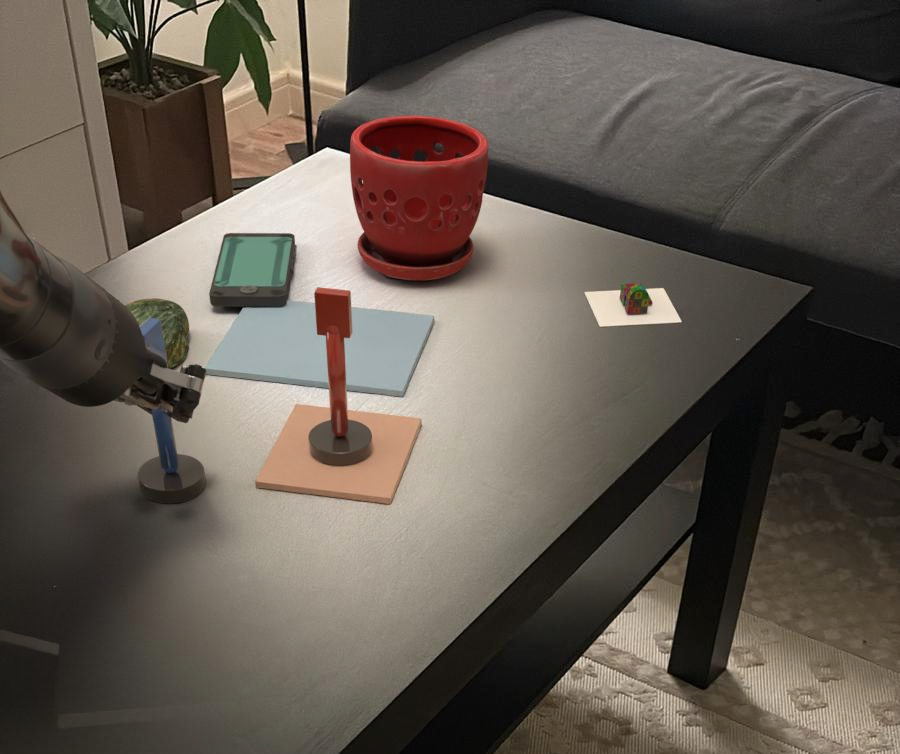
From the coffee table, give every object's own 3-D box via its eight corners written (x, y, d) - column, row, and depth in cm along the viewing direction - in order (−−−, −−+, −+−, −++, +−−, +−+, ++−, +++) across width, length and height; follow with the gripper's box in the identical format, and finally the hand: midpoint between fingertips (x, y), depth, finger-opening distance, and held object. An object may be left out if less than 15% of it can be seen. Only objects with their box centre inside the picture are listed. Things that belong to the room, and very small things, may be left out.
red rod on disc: (301, 462, 103) (288, 303, 94) (318, 428, 107) (307, 271, 97) (364, 469, 103) (358, 310, 93) (379, 435, 106) (374, 278, 96)
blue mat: (204, 374, 114) (204, 368, 113) (250, 301, 123) (250, 295, 123) (402, 397, 112) (402, 390, 111) (434, 321, 121) (434, 315, 120)
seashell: (59, 297, 114) (162, 270, 118) (67, 339, 117) (167, 311, 121) (107, 353, 109) (213, 323, 113) (114, 395, 112) (216, 364, 116)
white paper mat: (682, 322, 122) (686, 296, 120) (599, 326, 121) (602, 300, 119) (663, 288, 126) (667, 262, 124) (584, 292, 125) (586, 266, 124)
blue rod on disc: (187, 509, 100) (162, 349, 90) (128, 495, 101) (96, 336, 91) (217, 474, 103) (195, 316, 93) (159, 461, 104) (132, 304, 94)
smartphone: (208, 294, 120) (224, 230, 130) (209, 307, 121) (225, 243, 131) (287, 294, 120) (296, 231, 131) (288, 307, 121) (297, 243, 132)
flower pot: (457, 301, 124) (459, 172, 115) (333, 277, 127) (326, 149, 118) (501, 246, 132) (507, 122, 123) (384, 224, 135) (381, 102, 126)
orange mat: (255, 487, 102) (254, 481, 101) (296, 409, 110) (295, 403, 109) (390, 504, 101) (390, 498, 100) (421, 424, 109) (421, 418, 108)
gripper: (168, 288, 81) (267, 375, 97) (-20, 254, 83) (107, 344, 100) (142, 406, 81) (244, 472, 98) (-45, 368, 84) (86, 438, 101)
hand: (174, 407), depth 99 cm, fingers closed on blue rod on disc, 1 cm apart
